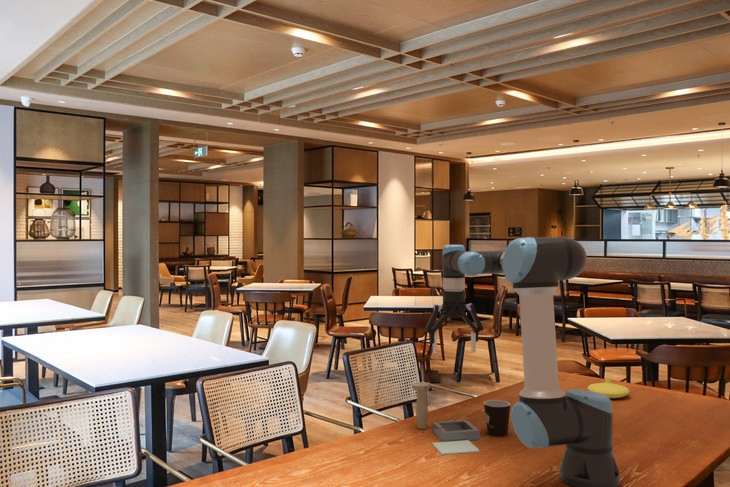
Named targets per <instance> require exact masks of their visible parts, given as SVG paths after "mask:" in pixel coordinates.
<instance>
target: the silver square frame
mask: <svg viewBox="0 0 730 487" xmlns="http://www.w3.org/2000/svg"><path fill="white" fill-rule="evenodd" d="M432 432H433V434H435V435H436V437H438V439H440V440H441V442H450V441H462V440H469V441H470V442H471V441H480V438H481V436H480V435H481V434H480V433H481V431H480V429H478V427H476V426H475V425H474V424H473V423H472V422H470V421H469V420H468V419H461V420H460V419H459V420H445V421H443V420H442V421H432Z"/></svg>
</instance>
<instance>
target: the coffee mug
mask: <svg viewBox="0 0 730 487" xmlns="http://www.w3.org/2000/svg"><path fill="white" fill-rule="evenodd" d="M483 407H484V414H485V416H484V417H485V423H486V431H487V432H486V433H487V435H488V436H491V437H496V438H499V437H500V438H501V437H502V438H503V437H505V436H508V432H509V431H508V430H509V424H510V423H509V422H510V415H511V403H510V402H509V401H506V400H502V399H501V400H499V399H489V400H485V401H483Z"/></svg>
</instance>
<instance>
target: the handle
mask: <svg viewBox="0 0 730 487" xmlns="http://www.w3.org/2000/svg"><path fill="white" fill-rule="evenodd" d="M411 385H412V389H413V390H415V391H416V404H415V405H416V409H415V411H416V412H415V413H416V414H415V416H416V423H417V425H416V426H417V428H418V429H419V430H425V429H427V428H428V421H429V420H428V419H429V408H428V407H429V406H428V396H427V395H428V393H427V392H428V390H430V389H431V388H432V383H430V382H427V381H426V382H425V381H424V382H415V383H412V384H411Z"/></svg>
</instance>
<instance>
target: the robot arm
mask: <svg viewBox="0 0 730 487" xmlns="http://www.w3.org/2000/svg"><path fill="white" fill-rule="evenodd" d="M441 258H442V261H441V262H442V289H443V291H442V304H441V305H440V304H436V303H435V304H433V308H432V312H431V314H430V317H429V319H428V320H427V322H426V325H425V326H424V331H425V333H429V342H430V344H432V353H433V354H437V355H438V336H437V335H438V334H437V333H436V332H437V331H438V329H439V328H440V327H441V326H442V325H443V324H444V322H445V321H446V320H447V319H448V318H450V319H451V318H453V319H454V318H462V319H463V320H464V322H465V323H466V324H467V325H468V326H469V327H470V328H471V330H472V331H471V332H470V351H471V352H473V353H476V352H477V350H476V349H477V347H476V343H477V342H479V333H480V332H481V331H482V332H483V331H484V329H485V328H484V326H483V324H482V322H481V319H480V318H479V316H478V314H477V312H476V309H475V304H474V303H470V302H469V303H467V304H466V291H465V289H466V279H465V278H466V276H469V277H470V276H478V275H491V274H492V275H493V274H495V275H497V274H499V275H501V274H503V275H504V279H506V281H507V282H509V283H511V284H512V290H513V291H514V292H515V293H516V294H517V295H518V296H519V312H520V314H519V316H520V330H521V345H522V347H521V348H522V364H523V381H524V387H523V388H522V389H521V390H520V392H519V393H518V394H519V401H517V402H516V403H514V404H513V406H512V408H511V409H510V420H511V424H512V427H513V431H514V432H515V435H516V436H517V437H518V440H519V441H520V442H521V443H522V444H523V446H525V447H527V448H530V449H547V448H550V447H558V446H559V447H560V446H565V450H564V454H563V457H562V461H561V463H560V466H559V478H560V480H561V481H562V482H564V483H565V484H567V485H569V486H572V487H619V486H620V485H621V473H620V471H619V467H618V465H617V461H616V459H615V455H614V453H613V449H614V448H613V415H614V412H613V406H612V400H611V398H608V397H607V396H605V395H603V394H600V393H596V392H591V391H588V390H584V389H570V388H569V389H567V390H566V391H563V390H562V389H561V388H560V385H559V384H560V383H559V370H558V368H559V367H558V356H557V355H558V353H557V336H556V334H557V333H556V322H555V305H554V294H555V292H556V291H557V290H558V289H559V287H560V286H559V282H560V281H567V280H571V279H575V278H576V277H577V276H579V275H580V274H581V273H583V271H584V270H585V268H586V265H587V261H588V259H587V258H588V256H587V253H586V250H585V247H583V245H582V243H580V242H578V241H577V240H576V239H574V238H570V237H565V236H557V237H556V236H552V237H551V236H548V237H547V236H546V237H545V236H540V237H539V236H528V237H520V238H515V239H514V240H512V241H510V242H509V243H508V244H507V247H506V248H505V250H490V251H489V250H485V251H484V250H481V251H478V250H477V251H466V249H465V246H464V245H463V244H445V245H443V246H442V255H441ZM441 310H442V311H443V312H442V313H441V315H440V317H439V318H438V320H436V318H437V316H438V314H439V312H440V311H441ZM466 310H468V311H469V313H470V315H471V317H472V319H473V321H474V323H475V324H474V323H473V321H472V320H471V319H470V318H469V317H468V315H467V314H466V313H465V311H466ZM435 321H436V322H435ZM434 322H435V323H434ZM433 324H434V325H433Z"/></svg>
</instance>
